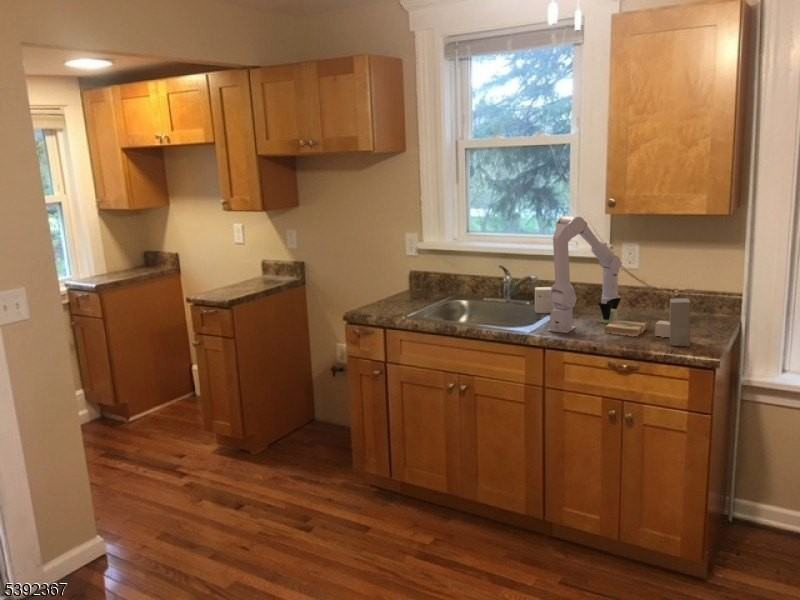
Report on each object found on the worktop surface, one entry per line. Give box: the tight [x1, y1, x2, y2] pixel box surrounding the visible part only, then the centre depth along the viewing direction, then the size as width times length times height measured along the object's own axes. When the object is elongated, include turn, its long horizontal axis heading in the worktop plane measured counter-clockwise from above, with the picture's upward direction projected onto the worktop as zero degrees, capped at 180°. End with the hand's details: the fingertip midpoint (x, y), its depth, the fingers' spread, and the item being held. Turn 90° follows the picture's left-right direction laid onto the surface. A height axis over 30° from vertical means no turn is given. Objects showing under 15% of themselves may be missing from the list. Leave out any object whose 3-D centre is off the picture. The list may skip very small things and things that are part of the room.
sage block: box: [600, 308, 619, 324], centre depth 261 cm, size 5×5×5 cm
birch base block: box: [604, 319, 647, 337], centre depth 247 cm, size 12×12×3 cm
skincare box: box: [668, 297, 691, 348], centre depth 227 cm, size 8×7×16 cm
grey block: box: [654, 320, 670, 338], centre depth 239 cm, size 5×5×5 cm
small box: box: [534, 286, 553, 314], centre depth 282 cm, size 8×6×10 cm
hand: (609, 317), depth 262 cm, fingers open, 7 cm apart
